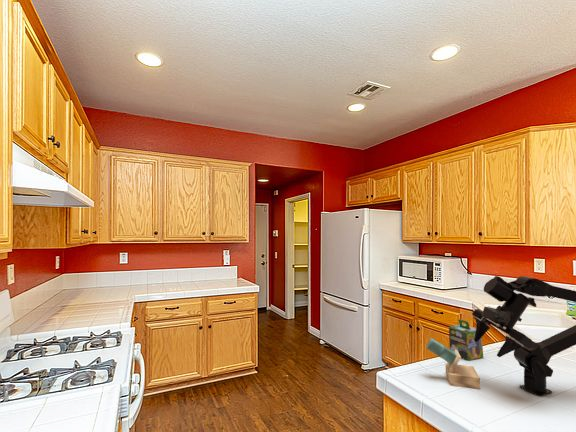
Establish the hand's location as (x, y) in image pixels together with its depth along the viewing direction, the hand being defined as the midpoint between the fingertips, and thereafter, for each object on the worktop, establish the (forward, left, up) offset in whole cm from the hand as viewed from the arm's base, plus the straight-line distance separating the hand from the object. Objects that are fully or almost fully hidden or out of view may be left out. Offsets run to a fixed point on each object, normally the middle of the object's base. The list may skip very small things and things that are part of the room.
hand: (486, 348), depth 109 cm
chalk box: (-19, -23, -13) cm, 33 cm away
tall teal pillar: (+4, -9, -7) cm, 12 cm away
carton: (+3, -7, -13) cm, 15 cm away
